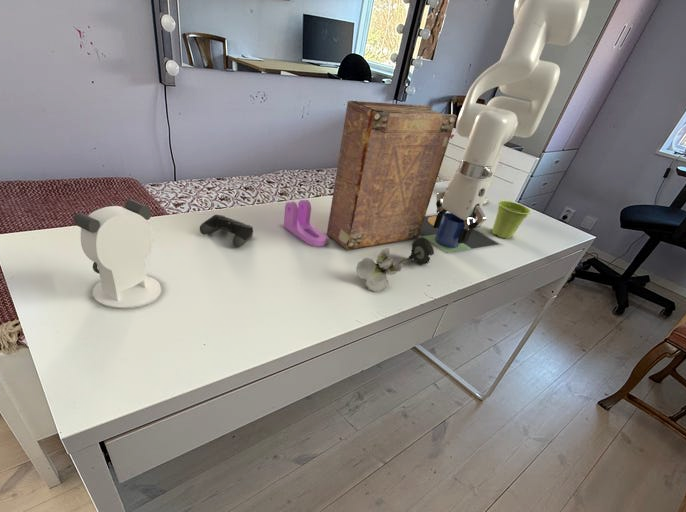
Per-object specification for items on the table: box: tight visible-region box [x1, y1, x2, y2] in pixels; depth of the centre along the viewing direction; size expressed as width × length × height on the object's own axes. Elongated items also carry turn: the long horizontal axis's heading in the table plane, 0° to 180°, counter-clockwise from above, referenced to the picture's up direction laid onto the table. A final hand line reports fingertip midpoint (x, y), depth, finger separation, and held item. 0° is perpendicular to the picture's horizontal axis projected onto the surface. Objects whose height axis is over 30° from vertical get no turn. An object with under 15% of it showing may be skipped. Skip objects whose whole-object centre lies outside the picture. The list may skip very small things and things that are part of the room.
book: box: [326, 100, 458, 251], centre depth 96 cm, size 25×9×30 cm, turn 123°
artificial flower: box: [355, 237, 435, 293], centre depth 89 cm, size 9×22×10 cm, turn 130°
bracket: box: [283, 199, 328, 247], centre depth 98 cm, size 13×6×7 cm, turn 38°
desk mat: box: [419, 214, 499, 253], centre depth 116 cm, size 22×22×1 cm
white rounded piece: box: [73, 198, 162, 310], centre depth 67 cm, size 12×11×15 cm
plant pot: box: [491, 200, 532, 240], centre depth 118 cm, size 9×9×9 cm
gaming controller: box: [198, 214, 254, 248], centre depth 92 cm, size 12×8×5 cm, turn 63°
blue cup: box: [435, 212, 465, 248], centre depth 108 cm, size 7×7×7 cm
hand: (449, 234), depth 109 cm, fingers open, 9 cm apart
